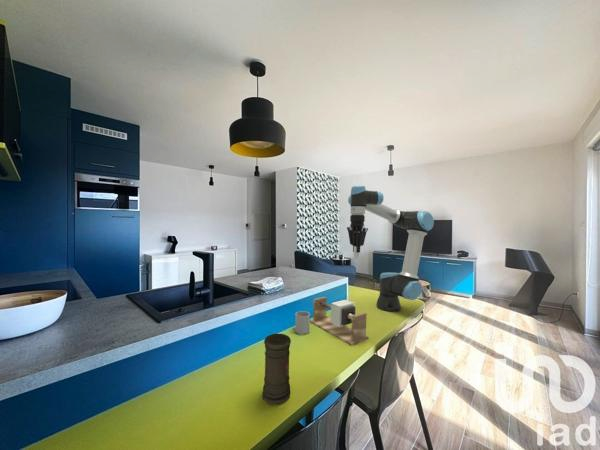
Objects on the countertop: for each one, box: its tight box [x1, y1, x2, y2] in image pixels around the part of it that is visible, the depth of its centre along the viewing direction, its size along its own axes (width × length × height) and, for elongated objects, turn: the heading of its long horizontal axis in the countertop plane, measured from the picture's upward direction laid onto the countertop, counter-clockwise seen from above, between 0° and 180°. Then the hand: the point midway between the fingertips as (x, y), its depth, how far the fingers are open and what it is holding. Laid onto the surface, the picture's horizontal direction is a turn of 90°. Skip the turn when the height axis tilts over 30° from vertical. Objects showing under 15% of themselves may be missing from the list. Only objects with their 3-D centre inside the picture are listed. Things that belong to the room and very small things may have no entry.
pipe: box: [320, 301, 353, 320], centre depth 125 cm, size 28×3×3 cm, turn 36°
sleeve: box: [330, 299, 355, 327], centre depth 122 cm, size 6×10×10 cm, turn 126°
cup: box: [294, 310, 311, 335], centre depth 124 cm, size 7×10×9 cm
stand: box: [310, 296, 369, 346], centre depth 125 cm, size 30×12×12 cm, turn 36°
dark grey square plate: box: [341, 305, 356, 326], centre depth 119 cm, size 2×8×8 cm, turn 126°
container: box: [262, 333, 292, 406], centre depth 77 cm, size 9×9×18 cm
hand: (356, 258), depth 131 cm, fingers closed
